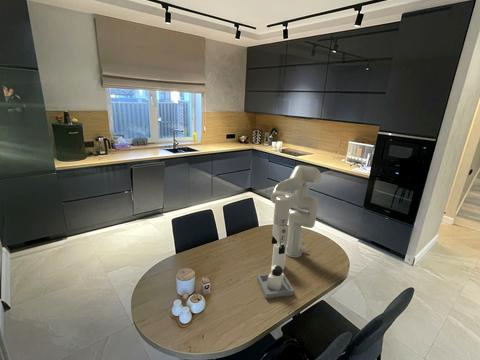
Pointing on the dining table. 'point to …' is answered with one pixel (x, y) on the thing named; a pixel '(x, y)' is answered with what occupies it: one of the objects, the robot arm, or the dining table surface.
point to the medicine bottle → (275, 278)
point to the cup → (278, 256)
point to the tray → (270, 293)
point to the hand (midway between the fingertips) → (277, 248)
